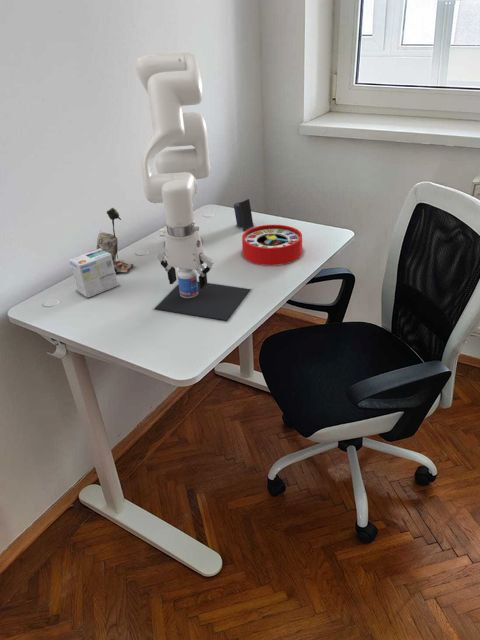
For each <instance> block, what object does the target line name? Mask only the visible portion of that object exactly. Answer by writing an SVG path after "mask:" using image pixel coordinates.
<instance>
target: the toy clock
mask: <svg viewBox="0 0 480 640" xmlns="http://www.w3.org/2000/svg"><path fill="white" fill-rule="evenodd" d="M241 245H242V256H243V258H244V259H245V260H246V261H248V262H250V263H253V264H256V265H260V266H283V265H287V264H290V263H294V262H295V261H297V260H298V259H299V258H301V256H302V255H303V234H302V232H301V231H300V230H299V229H297V228H295V227H293V226H290V225H286V224H285V225H284V224H262V225H258V226H254V227H252V228H250V229H247V230H245V231H244V232H243V234H242V235H241Z"/></svg>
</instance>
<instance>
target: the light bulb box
mask: <svg viewBox="0 0 480 640" xmlns="http://www.w3.org/2000/svg"><path fill="white" fill-rule="evenodd" d="M68 260H69V265H70V267H71V268H70V269H71V271H72V275H73V279H74V282H75V285H76V289H77V292H79V294H81V295H82V296H84V297H86V299H89V298H91V297H93V296H94V297H95V296H96V295H98V294H101V293H104V292H106V291H108V290H111V289H113V288H115V287H118V286H119V285H118V278H117V274H116V273H115V270H114V265H113V261H112V256H111V254H110V253H108V252H106V251H104V250H102V249H100V248H99V249H97V248H96V249H94V250H92V251H89V252H86V253H83V254H81V255H78V256H75V257H72V258H69V259H68Z"/></svg>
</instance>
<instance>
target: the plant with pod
mask: <svg viewBox="0 0 480 640" xmlns="http://www.w3.org/2000/svg"><path fill="white" fill-rule="evenodd" d="M106 214H107V216H108V218H109V219H110V220H111V222H112V223H111V224H112V233H113V234H112V233H107V232H104V231H100V232H99V233H98V236H97V240H96V250H97V249H99V248H100V249H102V250H104V251H106V252H108V253H110V254H111V256H112V261H113V265H114V270H115V274H116V273H127V272H128V271H129V269H131V268H132V267H133V266H134V264H133V263H126V262H125V261H124V260H119V255H118V247H119V246H118V237H117V236H116V233H115V220H117V219H118V220H120V221H122V218H121V217H120V213H119V212H118V211H117V209H116V208H114V207H111V208H109V209H108V210H106Z"/></svg>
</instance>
